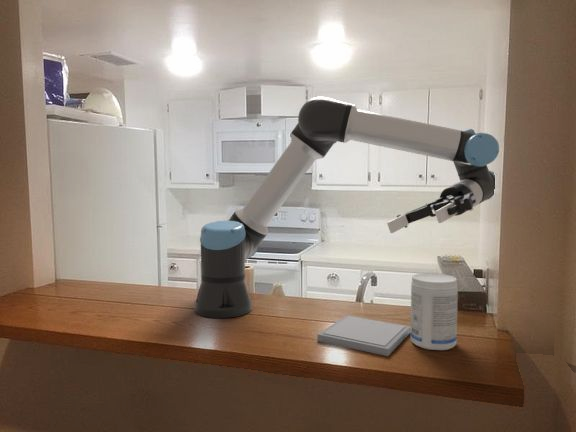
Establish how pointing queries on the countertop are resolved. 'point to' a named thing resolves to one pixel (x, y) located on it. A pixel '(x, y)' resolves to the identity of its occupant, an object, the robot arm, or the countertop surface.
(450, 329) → the supplement tub
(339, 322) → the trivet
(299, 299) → the countertop surface
